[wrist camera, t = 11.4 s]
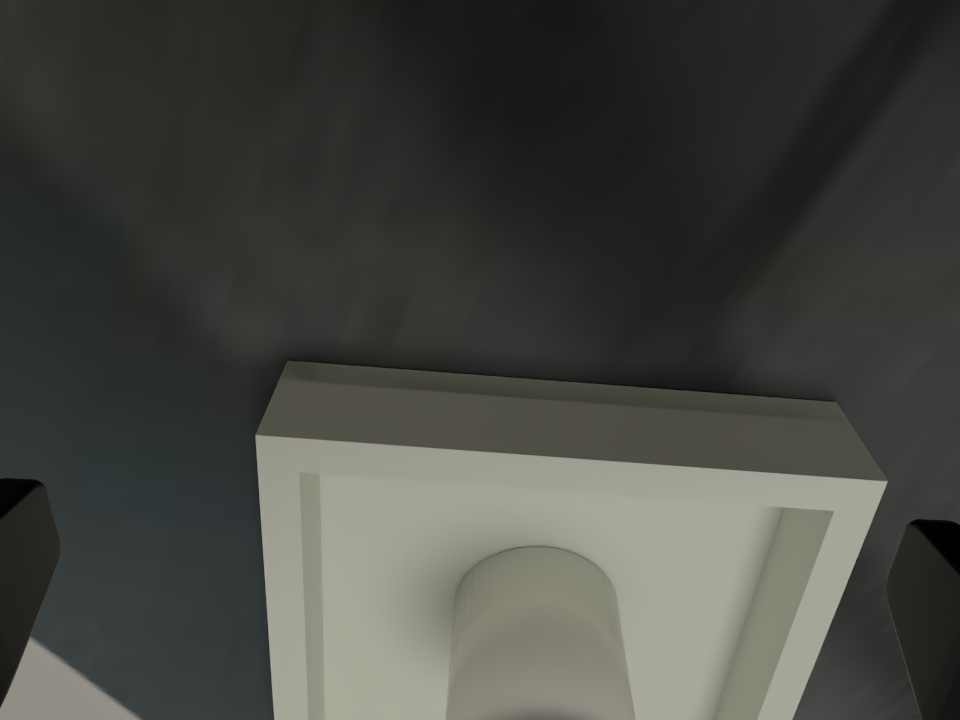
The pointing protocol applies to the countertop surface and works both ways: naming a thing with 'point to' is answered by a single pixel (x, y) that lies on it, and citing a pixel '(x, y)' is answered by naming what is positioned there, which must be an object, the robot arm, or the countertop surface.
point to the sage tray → (552, 531)
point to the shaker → (537, 641)
